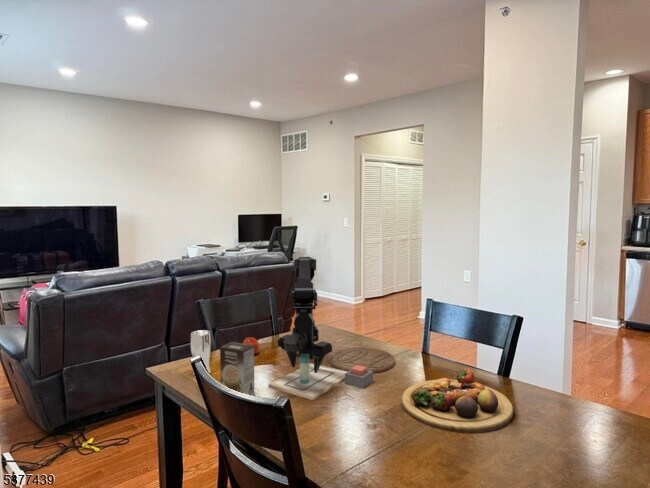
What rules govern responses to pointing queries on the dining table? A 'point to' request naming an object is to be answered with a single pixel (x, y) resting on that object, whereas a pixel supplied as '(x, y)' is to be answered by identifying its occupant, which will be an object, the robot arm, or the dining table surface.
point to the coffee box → (237, 367)
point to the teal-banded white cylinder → (304, 368)
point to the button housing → (359, 379)
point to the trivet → (362, 359)
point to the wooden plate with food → (457, 404)
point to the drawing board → (316, 386)
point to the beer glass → (201, 346)
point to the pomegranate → (252, 343)
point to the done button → (359, 370)
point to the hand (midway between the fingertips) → (304, 369)
